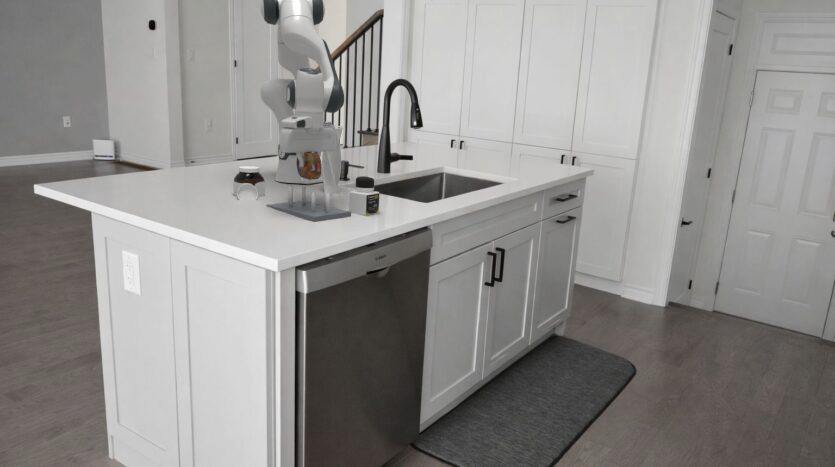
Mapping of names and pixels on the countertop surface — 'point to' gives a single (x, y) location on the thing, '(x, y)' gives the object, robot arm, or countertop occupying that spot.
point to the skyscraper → (332, 165)
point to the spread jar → (249, 183)
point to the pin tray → (310, 207)
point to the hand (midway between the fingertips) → (308, 166)
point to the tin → (310, 166)
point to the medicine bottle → (364, 197)
